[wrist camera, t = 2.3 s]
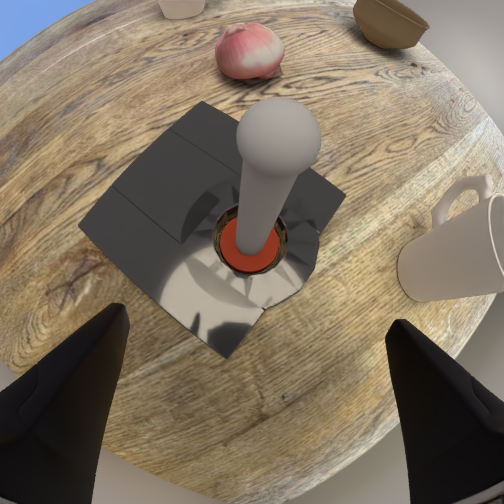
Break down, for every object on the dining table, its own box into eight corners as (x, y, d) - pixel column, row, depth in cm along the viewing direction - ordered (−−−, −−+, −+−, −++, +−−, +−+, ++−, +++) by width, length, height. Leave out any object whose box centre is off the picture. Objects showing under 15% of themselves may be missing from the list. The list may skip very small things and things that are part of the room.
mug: (441, 307, 23) (533, 292, 11) (392, 302, 22) (494, 285, 11) (438, 216, 25) (514, 170, 13) (392, 202, 25) (469, 140, 13)
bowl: (420, 64, 33) (443, 30, 23) (377, 63, 31) (402, 18, 21) (377, 26, 35) (394, -8, 25) (330, 22, 33) (345, -19, 23)
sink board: (238, 363, 20) (240, 369, 18) (89, 234, 21) (77, 225, 19) (346, 213, 24) (357, 203, 21) (203, 116, 25) (201, 100, 23)
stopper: (254, 285, 22) (312, 212, 6) (208, 250, 22) (172, 118, 7) (287, 241, 23) (379, 116, 7) (243, 209, 23) (267, 50, 8)
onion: (233, 50, 28) (235, 7, 21) (289, 65, 28) (300, 22, 21) (204, 83, 26) (201, 34, 19) (268, 101, 26) (278, 51, 19)
